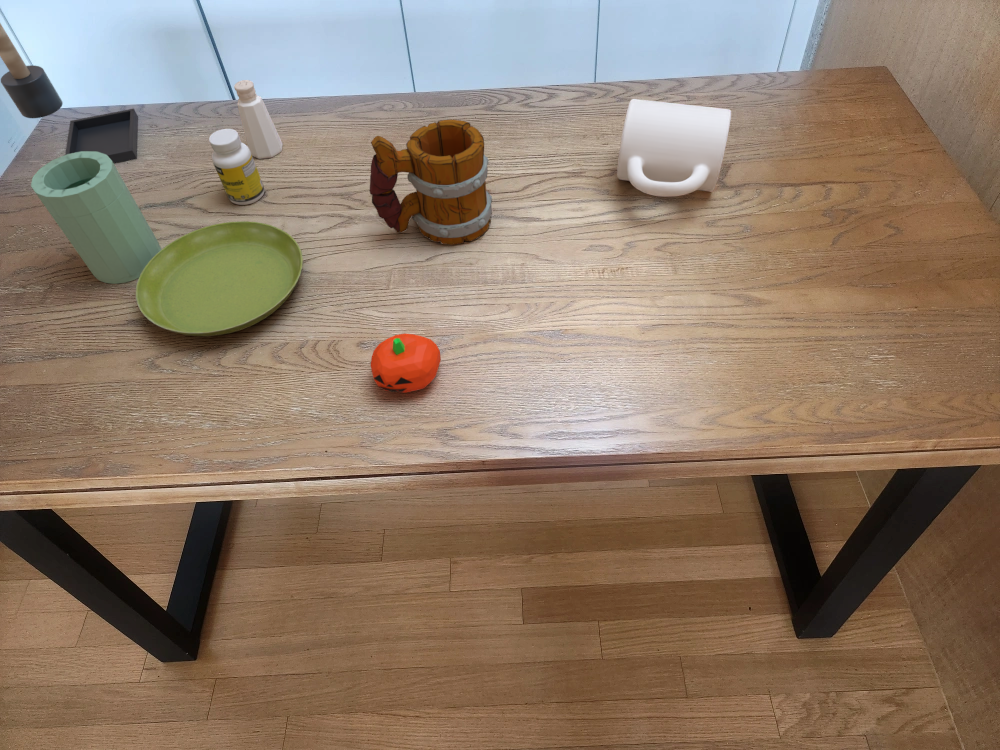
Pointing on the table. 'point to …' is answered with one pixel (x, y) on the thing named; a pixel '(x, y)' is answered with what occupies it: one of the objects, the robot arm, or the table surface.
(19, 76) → the wooden handled plunger
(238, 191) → the supplement bottle
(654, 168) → the mug
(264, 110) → the salt shaker
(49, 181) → the jar
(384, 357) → the pumpkin
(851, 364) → the table surface
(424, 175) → the mug
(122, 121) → the tray
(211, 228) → the saucer
